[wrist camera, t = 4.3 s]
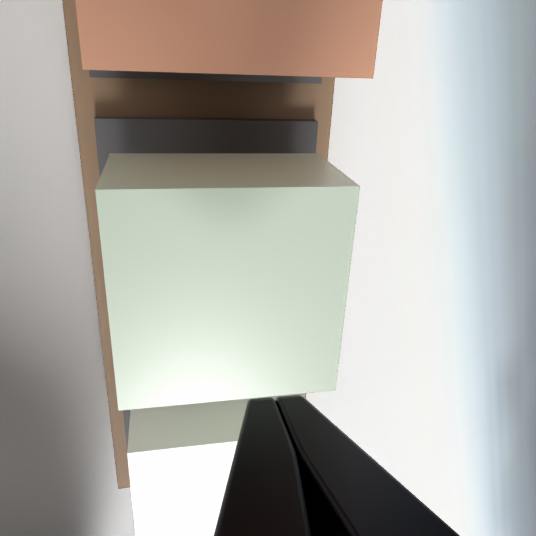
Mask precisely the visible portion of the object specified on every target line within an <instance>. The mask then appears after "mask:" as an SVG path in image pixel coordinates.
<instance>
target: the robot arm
mask: <svg viewBox="0 0 536 536" xmlns="http://www.w3.org/2000/svg"><path fill="white" fill-rule="evenodd" d="M214 536H459V535H458V534H457V533H456V532H455V531H454V530H453V529H451V528H450V527H449V526H448V525H447V524H446V523H445V522H444V521H442V520H441V519H440V518H439V517H438V516H437V515H436V514H435V513H433V512H432V511H431V510H430V509H429V508H428V507H427V506H426V505H424V504H423V503H422V502H421V501H420V500H419V499H418V498H417V497H415V496H414V495H413V494H412V493H411V492H410V491H409V490H408V489H406V488H405V487H404V486H403V485H402V484H401V483H400V482H399V481H397V480H396V479H395V478H394V477H393V476H392V475H391V474H390V473H388V472H387V471H386V470H385V469H384V468H383V467H382V466H381V465H379V464H378V463H377V462H376V461H375V460H374V459H373V458H372V457H370V456H369V455H368V454H367V453H366V452H365V451H364V450H363V449H361V448H360V447H359V446H358V445H357V444H356V443H355V442H353V441H352V440H351V439H350V438H349V437H348V436H347V435H346V434H344V433H343V432H342V431H341V430H340V429H339V428H338V427H337V426H335V425H334V424H333V423H332V422H331V421H330V420H329V419H328V418H326V417H325V416H324V415H323V414H322V413H321V412H320V411H319V410H317V409H316V408H315V407H314V406H313V405H312V404H311V403H310V402H308V401H307V400H306V399H305V398H304V397H303V396H300V395H289V396H279V397H277V398H276V399H273V398H272V397H264V398H252V399H250V400H249V401H248V402H247V406H246V410H245V414H244V418H243V422H242V425H241V429H240V433H239V437H238V441H237V445H236V449H235V453H234V457H233V461H232V465H231V469H230V473H229V477H228V481H227V485H226V489H225V493H224V497H223V501H222V505H221V509H220V512H219V516H218V520H217V524H216V528H215V532H214Z"/></svg>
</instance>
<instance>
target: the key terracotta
mask: <svg viewBox="0 0 536 536" xmlns="http://www.w3.org/2000/svg"><path fill="white" fill-rule="evenodd" d="M382 1H383V0H75V3H76V12H77V22H78V31H79V41H80V50H81V60H82V69H83V70H111V71H144V72H177V73H210V74H243V75H276V76H309V77H342V78H373V75H374V67H375V59H376V50H377V42H378V34H379V26H380V17H381V9H382Z"/></svg>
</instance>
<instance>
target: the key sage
mask: <svg viewBox="0 0 536 536" xmlns="http://www.w3.org/2000/svg"><path fill="white" fill-rule="evenodd" d="M359 191H360V186H359V185H358V184H356V183H355V182H354V181H353V180H351V179H350V178H349V177H347V176H346V175H345V174H344V173H342V172H341V171H340V170H338V169H337V168H336V167H335V166H333V165H332V164H331V163H329V162H328V161H327V160H325V159H324V158H323V157H322V156H320V155H319V154H318V153H110V154H109V157H108V159H107V162H106V164H105V167H104V169H103V172H102V174H101V177H100V179H99V181H98V184H97V186H96V189H95V193H96V202H97V212H98V221H99V231H100V240H101V250H102V260H103V269H104V279H105V288H106V298H107V307H108V317H109V326H110V336H111V345H112V355H113V364H114V374H115V383H116V393H117V402H118V411H120V410H131V409H142V408H152V407H163V406H174V405H184V404H195V403H205V402H216V401H227V400H237V399H248V398H258V397H269V396H280V395H290V394H301V393H311V392H322V391H333V390H335V389H336V381H337V373H338V364H339V356H340V348H341V340H342V331H343V323H344V315H345V307H346V298H347V290H348V282H349V273H350V265H351V257H352V249H353V240H354V232H355V224H356V216H357V207H358V199H359Z"/></svg>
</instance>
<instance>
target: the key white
mask: <svg viewBox="0 0 536 536" xmlns="http://www.w3.org/2000/svg"><path fill="white" fill-rule="evenodd" d="M290 395H300V396H303V397H304V398H305V399H306V397H305V395H304V393H301V394H290ZM280 396H289V395H280ZM269 397H272V398H273V399H276V398H277V397H279V396H269ZM258 398H264V397H258ZM250 399H252V398H248V399H237V400H227V401H216V402H205V403H195V404H184V405H174V406H163V407H152V408H142V409H131V410H130V423H129V436H128V449H127V456H128V466H129V476H130V486H131V496H132V506H133V516H134V526H135V536H214V532H215V528H216V524H217V520H218V516H219V512H220V509H221V505H222V501H223V497H224V493H225V489H226V485H227V481H228V477H229V473H230V469H231V465H232V461H233V457H234V453H235V449H236V445H237V441H238V437H239V433H240V429H241V425H242V422H243V418H244V414H245V410H246V406H247V402H248V401H249V400H250Z"/></svg>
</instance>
